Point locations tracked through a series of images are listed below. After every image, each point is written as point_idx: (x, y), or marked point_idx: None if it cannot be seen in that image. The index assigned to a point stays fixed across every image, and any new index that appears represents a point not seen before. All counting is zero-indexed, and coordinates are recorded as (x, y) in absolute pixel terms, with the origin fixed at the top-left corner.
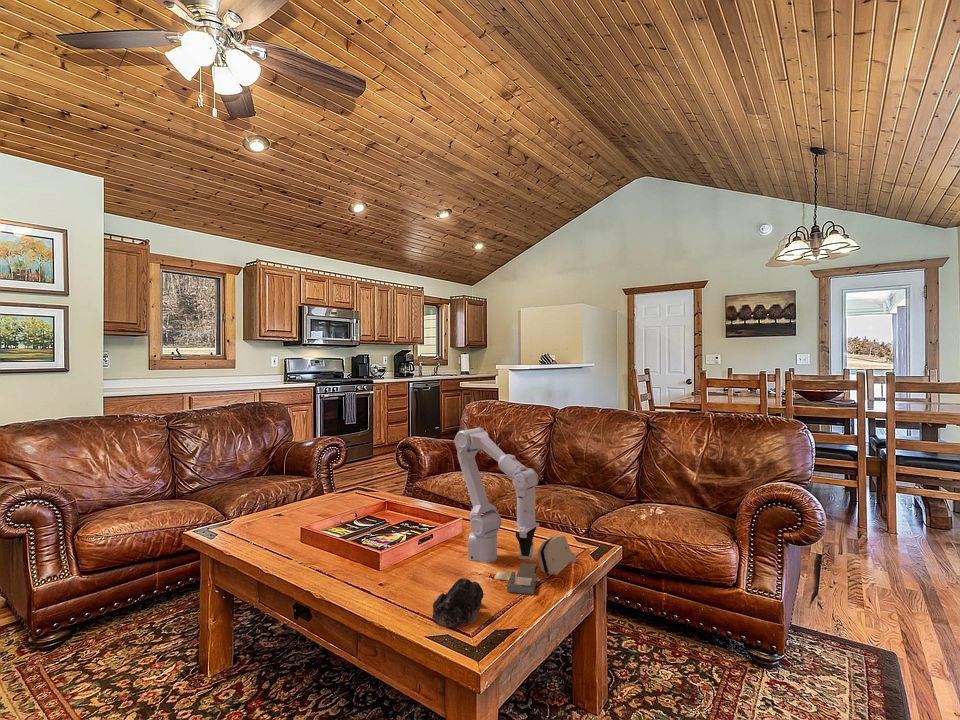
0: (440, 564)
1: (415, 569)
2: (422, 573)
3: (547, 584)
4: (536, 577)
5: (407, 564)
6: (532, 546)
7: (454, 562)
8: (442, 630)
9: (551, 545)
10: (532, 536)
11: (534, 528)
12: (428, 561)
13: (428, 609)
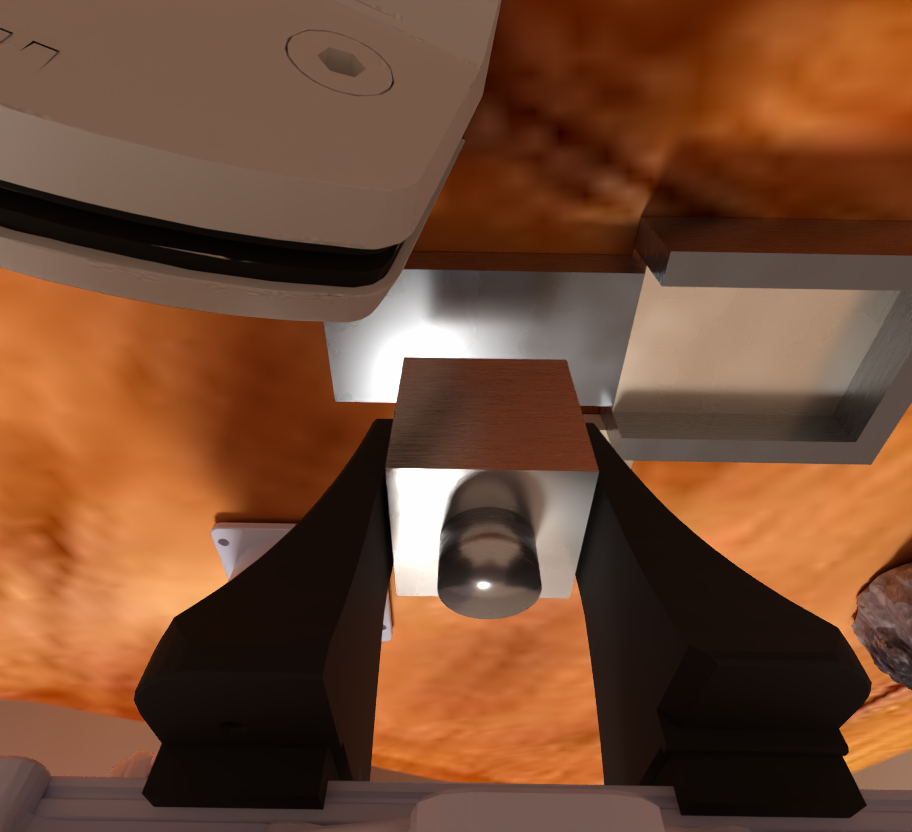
0: (426, 703)
1: (497, 746)
2: (532, 728)
3: (660, 100)
4: (693, 241)
5: (456, 767)
6: (529, 456)
7: (387, 672)
8: None
9: (172, 125)
10: (867, 675)
11: (332, 683)
12: (407, 733)
13: (878, 668)
